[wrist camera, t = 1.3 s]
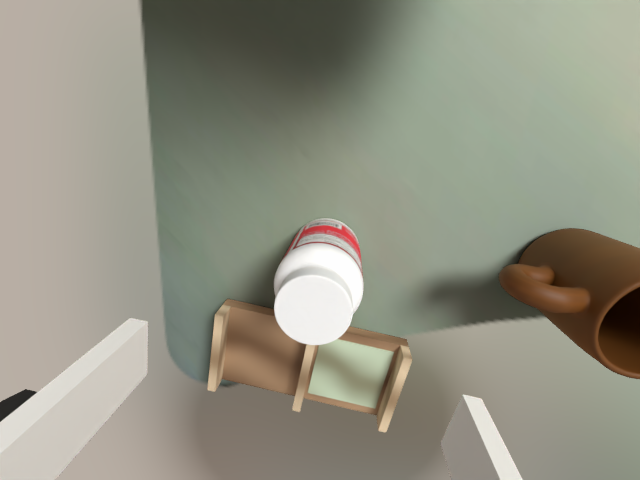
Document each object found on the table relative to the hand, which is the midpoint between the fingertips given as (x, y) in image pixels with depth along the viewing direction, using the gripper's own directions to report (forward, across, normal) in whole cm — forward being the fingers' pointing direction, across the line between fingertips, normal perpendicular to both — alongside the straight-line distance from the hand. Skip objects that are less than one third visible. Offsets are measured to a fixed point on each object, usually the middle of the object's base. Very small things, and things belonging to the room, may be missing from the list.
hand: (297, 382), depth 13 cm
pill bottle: (+17, 0, 0) cm, 17 cm away
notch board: (+16, 0, -12) cm, 20 cm away
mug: (+17, +18, +3) cm, 25 cm away
